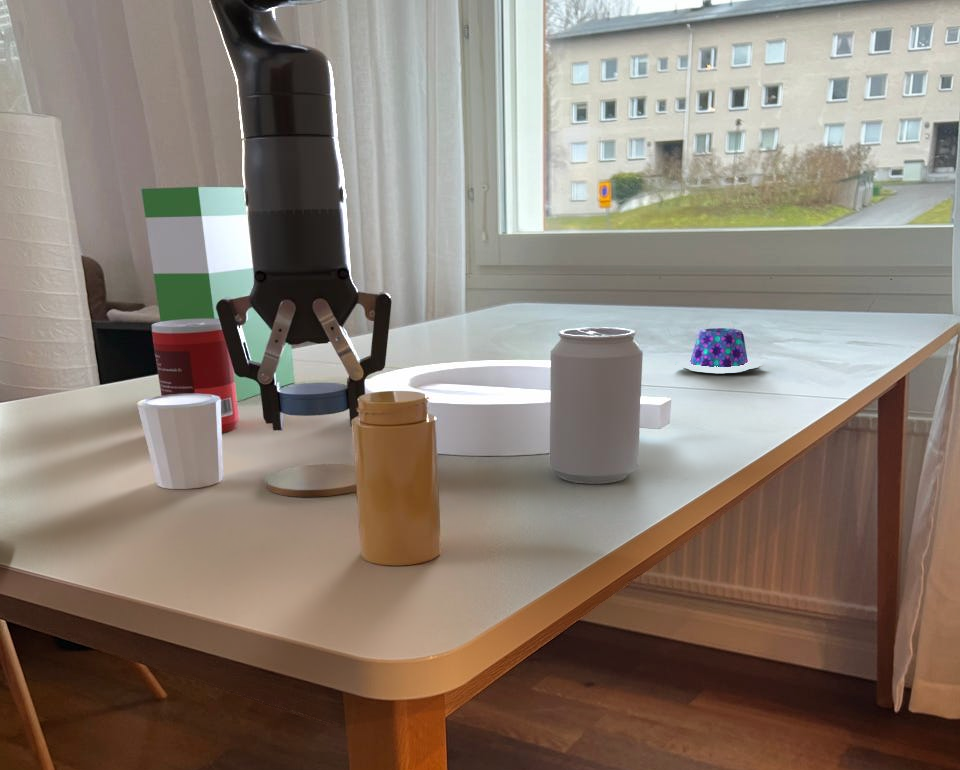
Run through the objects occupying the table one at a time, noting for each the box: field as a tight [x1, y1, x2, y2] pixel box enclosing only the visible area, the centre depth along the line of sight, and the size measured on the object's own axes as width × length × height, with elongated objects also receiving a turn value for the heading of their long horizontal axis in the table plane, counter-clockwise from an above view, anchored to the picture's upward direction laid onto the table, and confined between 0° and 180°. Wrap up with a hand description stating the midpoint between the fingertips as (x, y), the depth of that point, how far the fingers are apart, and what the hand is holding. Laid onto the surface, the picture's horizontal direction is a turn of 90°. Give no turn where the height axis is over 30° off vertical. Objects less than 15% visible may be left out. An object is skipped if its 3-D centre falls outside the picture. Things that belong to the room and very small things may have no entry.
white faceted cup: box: [136, 393, 224, 490], centre depth 85 cm, size 7×7×7 cm
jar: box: [351, 391, 442, 567], centre depth 65 cm, size 5×5×10 cm
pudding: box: [690, 327, 749, 367], centre depth 136 cm, size 12×12×5 cm
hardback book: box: [141, 186, 296, 403], centre depth 123 cm, size 18×7×24 cm, turn 162°
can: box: [549, 327, 644, 485], centre depth 83 cm, size 8×8×12 cm
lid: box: [278, 382, 349, 417], centre depth 81 cm, size 6×6×2 cm
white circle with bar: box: [364, 359, 672, 457], centre depth 104 cm, size 28×28×5 cm
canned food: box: [151, 319, 240, 434], centre depth 105 cm, size 8×8×11 cm
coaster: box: [265, 463, 356, 498], centre depth 84 cm, size 9×9×1 cm
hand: (316, 426), depth 82 cm, fingers closed on lid, 5 cm apart
